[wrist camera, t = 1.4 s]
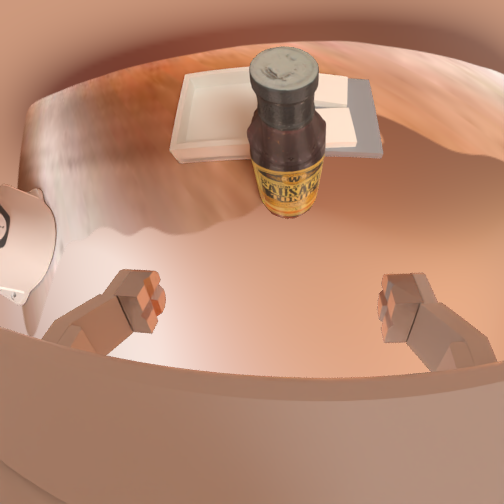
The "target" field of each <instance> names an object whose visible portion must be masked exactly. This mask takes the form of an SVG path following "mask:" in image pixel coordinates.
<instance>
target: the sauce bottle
mask: <svg viewBox="0 0 504 504" xmlns="http://www.w3.org/2000/svg"><path fill="white" fill-rule="evenodd" d="M249 74H250V83H251V87H252V89H253V91H254V92H255V94H256V97H257V103H258V104H257V109H256V110H255V111H254V115H253V117H252V121H251V124H250V126H249V127H248V129H247V138H248V141H249V144H250V156H251V160H252V164H253V168H254V172H255V176H256V181H257V185H258V189H259V194H260V197H261V200H262V202H263V204H264V205H265V206H266V208H267V209H268V210H269V211H270V212H271V213H272V214H274V215H276V216H279V217H282V218H287V219H288V218H296V217H298V216H300V215H302V214H304V213H305V212H307V211H308V210H309V209H310V208H311V207H312V205H313V203H314V201H315V199H316V196H317V191H318V187H319V181H320V176H321V171H322V164H323V160H324V155H325V145H326V122H325V120H324V119H323V118H322V117H321V116H320V114H319V113H318V112H317V111H316V110H315V104H314V95H315V94H314V93H315V91H316V90H317V87H318V82H319V68H318V64H317V62H316V60H315V59H314V58H313V57H312V56H311V55H310V54H308V53H307V52H305V51H303V50H301V49H297V48H294V47H276V48H270V49H267V50H264V51H262V52H261V53H259V54H258V55H257V56H256V57H255V58H254V59H253V60H252V62H251V64H250V67H249Z"/></svg>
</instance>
